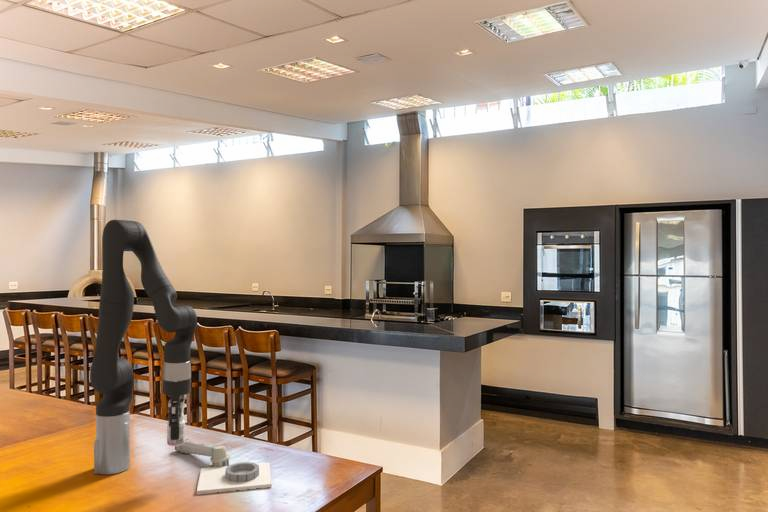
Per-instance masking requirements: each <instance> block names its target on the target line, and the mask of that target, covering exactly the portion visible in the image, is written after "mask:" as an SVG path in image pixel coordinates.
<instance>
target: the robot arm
mask: <svg viewBox="0 0 768 512" xmlns="http://www.w3.org/2000/svg"><path fill="white" fill-rule="evenodd" d="M101 237H102V238H101V239H102V240H101V242H102V243H101V249H102V272H101V273H102V276H101V288H100V296H99V304H98V305H99V306H98V321H97V329H96V337H95V338H96V339H95V347H94V351H93V356H92V360H91V361H92V362H91V367H90V372H89V380H90V381H89V382H90V385H91V387H92V389H94V391H95V392H97V393H99V394H103V396H102V398H101V399H100V400H99V401H98V403H97V404H96V406H95V440H94V443H93V474H97V475H98V474H100V475H114V474H119V473H122V472H124V471H125V472H126V471H127V470H128V469H129V468H130V467H131V440H130V439H131V438H130V437H131V434H130V433H131V429H130V425H131V423H130V421H131V417H130V415H131V413H130V410H131V409H130V408H131V403H132V401H133V396H134V394H133V393H134V369H133V366H132V363H130V361H129V360H128V359H127V358H125V357H119V352H120V351H119V350H120V346H121V344H122V340H123V339H124V337H125V334H126V333H127V331H128V328H129V326H130V324H131V322H132V318H133V315H134V304H135V303H134V302H135V293H134V290H133V288H132V286H131V283H130V282H129V280H128V277H127V276H126V273H125V270H124V253H125V252H132V253H133V254H134V256H136V258H137V259H138V261H139V263H140V269H141V271H140V281H141V285H142V287H143V290H144V291H145V293H146V294H147V296H148V297H149V299H150V301H151V303H152V305H153V306H152V307H153V309H154V314H155V317H156V321H157V324H158V326H159V327H160V328H161V329H162V331H164V332H166V333H168V334H169V333H174V336H173V337H172V338H170V339H169V340H167V341H166V342H165V343H164V348H163V349H164V350H163V353H164V354H163V355H164V356H163V369H162V394H163V395H165V396H167V397H171V398H170V399H169V401H168V405H167V407H168V409H167V410H168V421H169V427H171V440H178V439H179V426H180V418H181V417H182V413H184V412H185V401H186V400H185V396H186V395H188V394H190V393H191V388H192V365H191V346H192V342H193V340H194V339H193V338H194V337H195V336H194V335H195V332H196V328H197V323H198V316H197V313H196V310H195V309H194V308H193V307H192V306H190V305H179V306H173V303H174V302H175V301H176V300H177V299H178V294H177V291H176V289H175V288H174V286H173V284H172V282H171V281H170V279H169V278H168V276H167V274H166V273H165V272H164V270H163V268H162V265H161V263H160V261H159V259H158V257H157V256H158V255H157V254H156V250H155V249H154V246H153V243H152V241H151V239H150V238H151V237H150V236H149V234H148V231H147V230H146V228H145V227H144V225H143V224H142V223H140V222H139V221H134V220H125V219H111V220H109V221H107V222H106V224H105V226H104V228H103V230H102V236H101ZM179 413H180V414H179ZM173 419H176V420H177V422H172V421H173Z"/></svg>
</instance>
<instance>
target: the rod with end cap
mask: <svg viewBox="0 0 768 512" xmlns="http://www.w3.org/2000/svg"><path fill="white" fill-rule="evenodd" d="M174 450H176V452H179V451H180V453H182V454H191V455H196V456H197V455H198V456H204V457H210V458H209V459H210V462H211V467H212V466H213V467H222V466H230V459H231V457H230V455H229V454H228V452H227V448H226V447H225V446H224V445H219V446H213V445H209V444H207V443H206V444H205V443H201V442H198V441H195V440H194V441H193V440H190V439H189V438H185V443H184V444H182V445H180V446H174Z"/></svg>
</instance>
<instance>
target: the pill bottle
mask: <svg viewBox="0 0 768 512" xmlns="http://www.w3.org/2000/svg"><path fill="white" fill-rule="evenodd" d="M179 414H180V413H179ZM172 422H177V420H176V419H173V421H172ZM166 431H167V433H166V434H167V435H166V436H167V437H166V438H167V439H166V441H167V446H170V447H175V446H180V445H182V444H184V443H185V439H186V421H185V413H184V412H183V413H182V417H181V418H180V426H179V439H178V440H171V427H169V420H168V421H167V430H166Z"/></svg>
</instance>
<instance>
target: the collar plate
mask: <svg viewBox="0 0 768 512" xmlns="http://www.w3.org/2000/svg"><path fill="white" fill-rule="evenodd" d="M271 475H272V474H271V465H270V462H261V463H260V462H259V463H254V462H249V461H243V462H241V461H240V462H235V463H233V464H229V466H222V467H212V466H211V467H202V468H201V469H200V474H199V478H198V482H197V489H196V495H206V494H217V492H219V493H227V492H228V491H229V492H237V491H236V490H240V491H248V490H247V489H250V490H257V489H256V488H261V489H268V488H267V487H272V484H273V483H272V476H271Z"/></svg>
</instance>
